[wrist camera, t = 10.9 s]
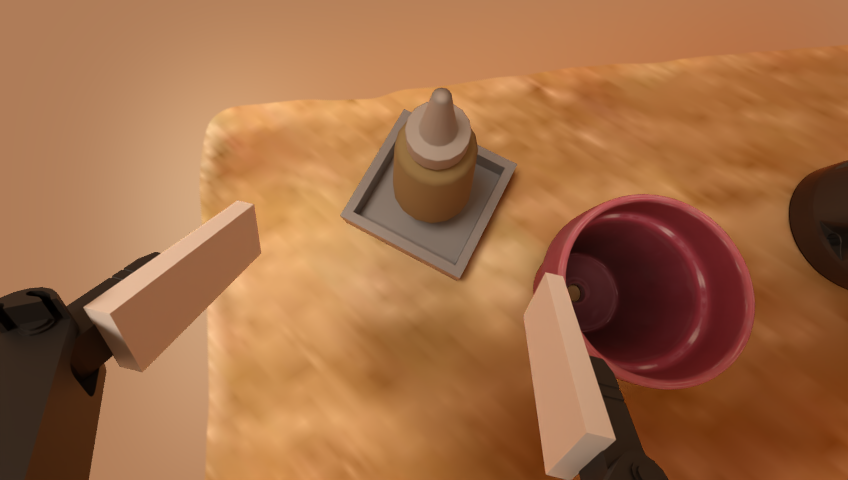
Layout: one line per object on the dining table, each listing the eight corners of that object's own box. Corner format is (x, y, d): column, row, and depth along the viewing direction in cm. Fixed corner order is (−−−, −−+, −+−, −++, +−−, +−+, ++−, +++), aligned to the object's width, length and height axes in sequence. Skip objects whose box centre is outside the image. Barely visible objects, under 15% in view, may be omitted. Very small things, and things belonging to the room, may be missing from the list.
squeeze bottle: (481, 198, 36) (540, 100, 19) (429, 245, 35) (439, 190, 17) (432, 149, 37) (444, 13, 20) (380, 194, 36) (343, 92, 19)
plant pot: (599, 210, 37) (691, 163, 24) (662, 325, 35) (799, 339, 22) (487, 258, 36) (524, 235, 23) (545, 381, 33) (621, 429, 21)
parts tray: (509, 175, 38) (517, 164, 35) (456, 280, 35) (459, 278, 32) (405, 123, 39) (404, 109, 36) (346, 222, 36) (340, 215, 33)
